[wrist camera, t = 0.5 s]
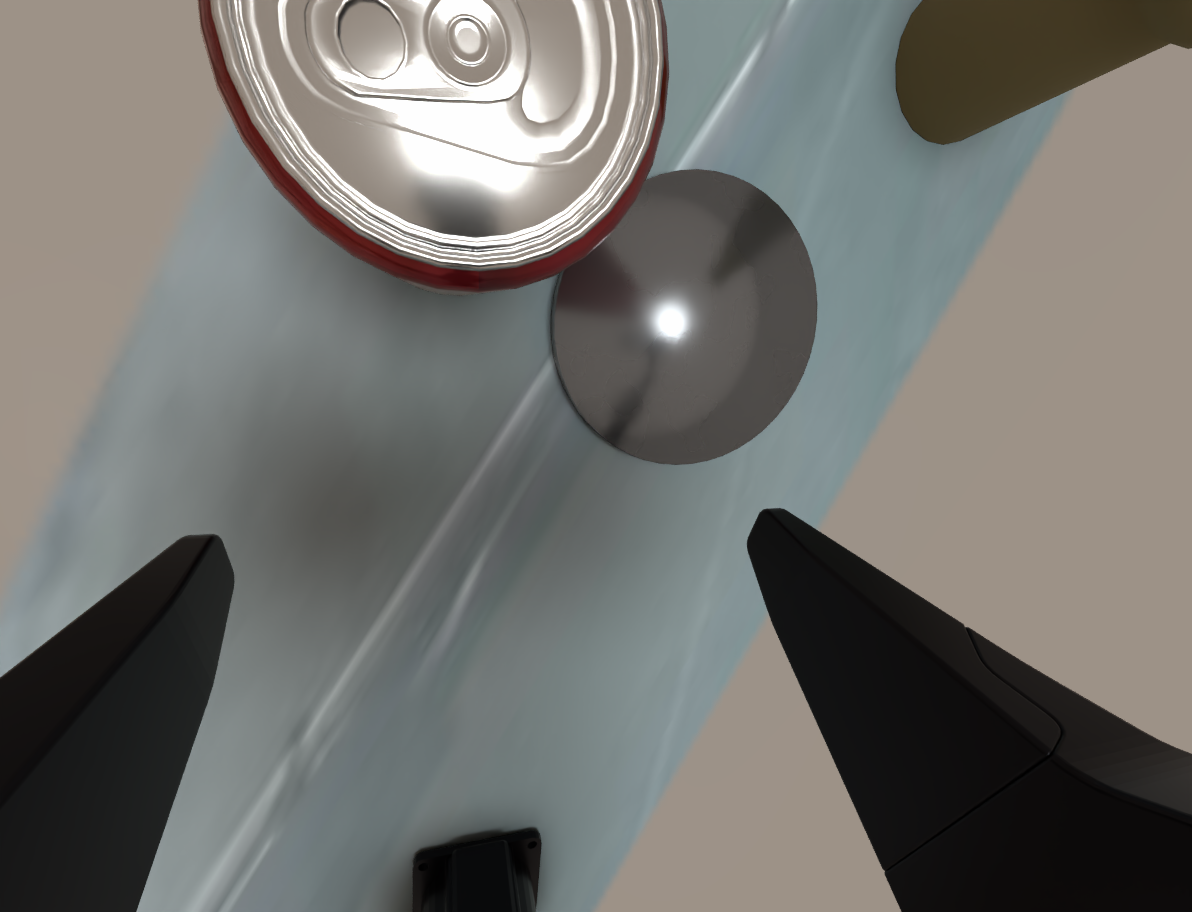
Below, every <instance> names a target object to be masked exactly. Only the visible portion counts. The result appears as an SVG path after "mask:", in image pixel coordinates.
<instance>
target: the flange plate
mask: <svg viewBox="0 0 1192 912" xmlns="http://www.w3.org/2000/svg"><path fill="white" fill-rule="evenodd" d="M816 323H817V293H816V283H815V278H814V273H813V268H812V265H811V261H810V258H809V255H808V252H807V249H806V247H805V245H804V243H803V241H802V239H801V236H800V234H799V233H798V231H797V229H796V228H795V226H794V225H793V223H792V222H791V220H790V218H789V217H788V216H787V215H786V214H785V213H784V211H783V210H782V209H781V208H780V207H779V205H778V204H776V203H775V202H774V201H773V200H772V199H771V198H770V197H769V196H767V195H766V194H765V193H764V192H762V191H761V190H759V189H758V188H756V187H755V186H753V185H752V184H750V183H748V182H746V181H743V180H741V179H739V178H737V177H735V176H731V175H728V174H724V173H720V172H717V171H708V170H699V169H696V170H679V171H674V172H670V173H665V174H660V175H658V176H655V177H653V178H650V179H647V180H645V182H644V184H643V186H642V188H641V190H640V192H639V195H638V197H637V199H636V201H635V202H634V204H633V205H632V206H631V208H630V209H629V210H628V212H627V213H626V215H625V216H624V217H623V219H622V220H621V221H620V223H619V224H618V226H617V227H616V228H615V230H614V231H613V232H612V233H611V234H610V235H609V236H608V237H607V238H606V239H605V240H604V241H602V242H601V243H600V244H599V245H598V246H597V247H596V248H595V249H594V250H593V251H591V252H590V253H589V254H588V255H587V256H586V257H585V258H583V259H582V260H580V261H578V262H576V263H575V264H573V265H571V266H570V267H568V268H566V269H565V270H563V271H561V272H560V274H559V277H558V281H557V284H556V288H555V292H554V297H553V305H552V313H551V338H552V346H553V355H554V358H555V362H556V366H557V370H558V374H559V376H560V379H561V381H562V384H563V386H564V389H565V391H566V393H567V395H568V396H569V398H570V400H571V402H572V403H573V405H574V407H575V408H576V409H577V411H578V412H579V413H580V415H581V416H582V417H583V419H584V420H585V421H586V422H587V423H588V424H589V425H590V426H591V427H592V428H593V429H594V430H595V431H596V432H597V433H598V434H600V435H601V436H602V437H603V438H605V439H606V440H607V441H609V442H610V443H611V444H613V445H614V446H615V447H617V448H619V449H621V450H623V451H624V452H626V453H628V454H630V455H633V456H635V457H638V458H641V459H643V460H647V461H652V462H656V463H661V464H674V465H679V464H693V463H698V462H703V461H708V460H711V459H714V458H717V457H720V456H723V455H725V454H727V453H729V452H731V451H734V450H736V449H738V448H739V447H741V446H742V445H744V444H746V443H747V442H749V441H750V440H752V439H753V438H754V437H755V436H757V435H758V434H759V433H760V432H762V431H763V430H764V429H765V428H766V427H767V426H768V425H769V424H770V423H771V422H772V421H773V420H774V419H775V418H776V417H777V416H778V414H779V413H780V412H781V411H782V409H783V408H784V407H785V405H786V404H787V403H788V401H789V399H790V398H791V396H792V395H793V393H794V392H795V390H796V388H797V386H798V384H799V382H800V380H801V378H802V376H803V374H804V371H805V369H806V366H807V363H808V360H809V358H810V354H811V350H812V346H813V342H814V337H815V330H816Z"/></svg>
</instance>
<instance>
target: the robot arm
mask: <svg viewBox="0 0 1192 912" xmlns="http://www.w3.org/2000/svg"><path fill="white" fill-rule="evenodd" d="M747 550H748V554H749V557H750V560H751V563H752V566H753V569H754V572H755V575H756V578H757V581H758V584H759V587H760V590H761V593H762V596H763V599H764V602H765V605H766V608H767V611H768V613H769V616H770V618H771V621H772V624H773V626H774V629H775V631H776V633H777V635H778V638H779V640H780V642H781V644H782V647H783V649H784V651H785V653H786V655H787V658H788V660H789V662H790V664H791V667H792V669H793V671H794V673H795V675H796V678H797V680H798V682H799V684H800V687H801V689H802V691H803V693H804V695H805V698H806V700H807V702H808V704H809V707H810V709H811V711H812V713H813V715H814V718H815V720H816V722H817V724H818V726H819V729H820V731H821V733H822V735H823V738H824V740H825V742H826V744H827V746H828V749H829V751H830V753H831V755H832V758H833V760H834V762H835V764H836V767H837V769H838V771H839V773H840V775H841V778H842V780H843V782H844V784H845V787H846V789H847V791H848V793H849V795H850V798H851V800H852V802H853V804H854V806H855V808H856V811H857V813H858V815H859V817H860V820H861V822H862V824H863V827H864V829H865V831H866V833H867V835H868V838H869V840H870V842H871V844H872V846H873V849H874V851H875V853H876V855H877V857H878V860H879V862H880V864H881V866H882V869H883V870H884V871H885V876H886V878H887V881H888V882H889V885H890V887H891V889H892V891H893V894H894V896H895V898H896V901H897V903H898V905H899V907H900V909H901V912H1192V754H1191V753H1188V752H1186V751H1183V750H1180V749H1178V748H1175V747H1173V746H1171V745H1169V744H1167V743H1164V742H1162V741H1160V740H1158V739H1156V738H1154V737H1153V736H1151V735H1149V734H1147V733H1145V732H1143V731H1141V730H1140V729H1138V728H1136V727H1135V726H1133V725H1131V724H1130V723H1128V722H1126V721H1124V720H1123V719H1121V718H1119V717H1117V716H1116V715H1114V714H1112V713H1110V712H1108V711H1107V710H1105V709H1103V708H1102V707H1100V706H1098V705H1096V704H1095V703H1093V702H1091V701H1090V700H1088V699H1086V698H1084V697H1083V696H1081V695H1079V694H1077V693H1076V692H1074V691H1072V690H1070V689H1069V688H1067V687H1065V686H1063V685H1062V684H1060V683H1058V682H1057V681H1055V680H1053V679H1051V678H1050V677H1048V676H1046V675H1045V674H1043V673H1041V672H1040V671H1038V670H1036V669H1034V668H1032V667H1031V666H1029V665H1028V664H1026V663H1024V662H1023V661H1020V660H1019V659H1018V658H1016V657H1015V656H1013V655H1011V654H1010V653H1008V652H1006V651H1005V650H1003V649H1002V648H1000V647H998V646H996V645H995V644H994V643H992V642H990V641H989V640H987V639H986V638H984V637H983V636H981V635H980V634H978V633H976V632H975V631H973V630H972V629H970V628H969V627H965V626H964V624H962V623H961V622H959V621H958V620H956V619H955V618H953V617H952V616H950V615H948V614H946V613H945V612H944V611H942V610H941V609H939V608H938V607H936V606H934V605H933V604H931V603H930V602H928V601H927V600H925V599H924V598H922V597H920V596H919V595H917V594H916V593H914V592H912V591H911V590H909V589H908V588H906V587H905V586H903V585H901V584H900V583H899V582H897V581H896V580H894V579H892V578H891V577H889V576H888V575H886V574H885V573H883V572H881V571H880V570H878V569H876V568H875V567H874V566H872V565H871V564H869V563H867V562H866V561H864V560H863V559H861V558H860V557H858V556H856V555H855V554H854V553H852V552H850V551H849V550H847V549H846V548H844V547H842V546H841V545H839V544H838V543H836V542H835V541H833V540H832V539H830V538H828V537H827V536H826V535H824V534H822V533H821V532H819V531H818V530H816V529H815V528H813V527H812V526H810V525H808V524H807V523H805V522H804V521H802V520H801V519H799V518H798V517H796V516H794V515H793V514H791V513H790V512H788V511H787V510H785V509H781V508H774V509H764V510H762V511H761V512H760V513H759V515H758V517H757V519H756V521H755V524H754V526H753V528H752V530H751V532H750V534H749V537H748V540H747ZM233 589H234V572H233V569H232V566H231V563H230V560H229V558H228V555H227V552H226V549H225V547H224V544H223V541H222V540H221V538H220V537H219V536H218V535H214V534H204V535H188V536H184V537H182V538H180V539H179V540H177V541H176V542H175V543H173V544H172V545H171V546H170V547H168V548H167V549H166V550H164V551H163V552H162V553H160V554H159V555H158V556H157V557H155V558H154V559H153V560H151V561H150V562H149V563H148V564H146V565H145V566H144V567H142V568H141V569H140V570H139V571H137V572H136V573H135V574H133V575H132V576H131V577H129V578H128V579H127V580H126V581H124V582H123V583H122V584H120V585H119V586H118V587H117V588H115V589H114V590H113V591H111V592H110V593H109V594H107V595H106V596H105V597H104V598H102V599H101V600H100V601H98V602H97V603H96V604H95V605H93V606H92V607H91V608H89V609H88V610H87V611H86V612H84V613H83V614H82V615H80V616H79V617H78V618H76V619H75V620H74V621H73V622H71V623H70V624H69V625H67V626H66V627H65V628H64V629H62V630H61V631H60V632H58V633H57V634H56V635H54V636H53V637H52V638H51V639H49V640H48V641H47V642H45V643H44V644H43V645H42V646H40V647H39V648H38V649H36V650H35V651H34V652H33V653H31V654H30V655H29V656H27V657H26V658H25V659H23V660H22V661H21V662H20V663H18V664H17V665H16V666H14V667H13V668H12V669H11V670H9V671H8V672H7V673H5V674H4V675H3V676H2V677H0V912H136V911H137V908H138V905H139V902H140V899H141V896H142V893H143V890H144V887H145V884H146V881H147V879H148V876H149V873H150V870H151V867H152V864H153V861H154V858H155V855H156V852H157V849H158V846H159V843H160V840H161V838H162V835H163V832H164V829H165V826H166V823H167V820H168V817H169V814H170V811H171V808H172V805H173V802H174V799H175V797H176V794H177V791H178V788H179V785H180V782H181V779H182V776H183V773H184V770H185V767H186V764H187V761H188V758H189V756H190V753H191V750H192V747H193V744H194V741H195V738H196V735H197V732H198V729H199V726H200V723H201V720H202V717H203V715H204V712H205V709H206V706H207V703H208V700H209V696H210V693H211V690H212V687H213V683H214V679H215V675H216V670H217V666H218V661H219V656H220V651H221V646H222V642H223V637H224V632H225V627H226V622H227V618H228V613H229V608H230V603H231V598H232V594H233ZM540 855H541V838H540V833H539V832H538V831H527V832H522V833H517V834H512V835H507V836H502V837H496V838H491V839H486V840H481V841H476V842H471V843H466V844H460V845H455V846H450V847H445V848H440V849H435V850H429V851H424V852H421V853H419V854H417V855H416V856H415V858H414V860H413V912H536V904H537V892H538V879H539V867H540Z"/></svg>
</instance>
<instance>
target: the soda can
mask: <svg viewBox="0 0 1192 912" xmlns="http://www.w3.org/2000/svg"><path fill="white" fill-rule="evenodd" d="M198 9H199V19H200V29H201V34H202V37H203V41H204V44H205V48H206V51H207V55H208V58H209V61H210V65H211V69H212V72H213V75H214V79H215V82H216V86H217V89H218V91H219V93H220V95H221V98H222V100H223V102H224V104H225V106H226V108H227V110H228V112H229V114H230V116H231V118H232V120H233V122H234V125H235V127H236V129H237V131H238V133H239V135H240V137H241V139H242V141H243V143H244V144H245V146H246V147H247V148H248V150H249V151H250V153H251V154H252V156H253V157H254V158H255V160H256V161H257V163H258V164H259V166H260V167H261V168H262V170H263V171H264V173H265V174H266V176H267V177H268V178H269V180H270V181H271V183H272V184H273V186H274V187H275V188H276V189H277V190H278V191H279V192H280V193H281V194H282V195H283V197H284V198H285V199H286V200H287V201H288V202H289V203H290V204H291V205H292V206H293V207H294V208H295V209H296V210H297V211H298V212H299V213H300V214H301V215H302V216H303V217H304V218H305V219H306V220H307V221H308V222H309V223H310V224H311V225H312V226H313V227H314V228H316V229H317V230H318V231H320V232H321V233H322V234H324V235H325V236H326V237H328V238H329V239H331V240H332V241H333V242H335V243H336V244H337V245H339V246H340V247H341V248H343V249H344V250H346V251H347V252H348V253H350V254H351V255H352V256H354V257H356V258H358V259H360V260H362V261H364V262H366V263H368V264H370V265H372V266H374V267H376V268H378V269H380V270H382V271H384V272H386V273H388V274H390V275H392V276H394V277H396V278H398V279H400V280H402V281H404V282H407V283H409V284H411V285H413V286H415V287H417V288H419V289H422V290H426V291H429V292H433V293H436V294H441V295H453V296H464V295H473V294H481V293H488V292H495V291H502V290H509V289H516V288H520V287H523V286H526V285H529V284H532V283H535V282H538V281H541V280H544V279H547V278H550V277H553V276H554V275H556V274H558V273H560V272H561V271H563V270H565V269H566V268H568V267H570V266H571V265H573V264H575V263H576V262H578V261H580V260H582V259H583V258H585V257H586V256H587V255H588V254H589V253H590V252H591V251H593V250H594V249H595V248H596V247H597V246H598V245H599V244H600V243H601V242H602V241H604V240H605V239H606V238H607V237H608V236H609V235H610V234H611V233H612V232H613V231H614V230H615V228H616V227H617V226H618V224H619V223H620V221H621V220H622V219H623V217H624V216H625V215H626V213H627V212H628V210H629V209H630V208H631V206H632V205H633V204H634V202H635V201H636V199H637V197H638V195H639V192H640V190H641V188H642V186H643V184H644V182H645V180H646V178H647V176H648V173H649V171H650V169H651V167H652V165H653V162H654V158H655V155H656V151H657V147H658V144H659V140H660V136H661V133H662V129H663V125H664V119H665V110H666V100H667V90H668V80H669V61H668V43H667V26H666V21H665V16H664V11H663V6H662V2H661V0H198Z"/></svg>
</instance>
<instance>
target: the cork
mask: <svg viewBox="0 0 1192 912" xmlns="http://www.w3.org/2000/svg"><path fill="white" fill-rule="evenodd" d="M1170 43H1171V44H1175V45H1178V46H1181V47H1184V48H1187V49H1189V48H1192V0H923V1H922V2H921V3H920V4H919V6H918V7H917V8H916V9H915V11H914V12H913V13H912V15H911V17H910V19H909V21H908V24H907V26H906V28H905V30H904V32H903V35H902V37H901V41H900V46H899V51H898V56H897V60H896V90H897V94H898V98H899V102H900V105H901V109H902V113H903V114H904V116H905V118H906V119H907V121H908V122H909V124H910V126H911V127H912V129H913V130H914V131H915V132H916V133H918V134H919V135H920V136H921V137H923V138H924V139H925V140H927V141H930V142H934V143H938V144H943V145H944V144H949V143H953V142H958V141H961V140H963V139H966V138H968V137H970V136H972V135H974V134H976V133H978V132H981V131H983V130H985V129H987V128H989V127H991V126H994V125H996V124H998V123H1000V122H1002V121H1004V120H1006V119H1009V118H1011V117H1013V116H1015V115H1017V114H1019V113H1022V112H1024V111H1026V110H1028V109H1030V108H1032V107H1035V106H1037V105H1039V104H1041V103H1043V102H1045V101H1047V100H1050V99H1052V98H1054V97H1056V96H1058V95H1060V94H1063V93H1065V92H1067V91H1069V90H1071V89H1073V88H1075V87H1078V86H1080V85H1082V84H1084V83H1086V82H1088V81H1091V80H1093V79H1095V78H1097V77H1099V76H1101V75H1103V74H1106V73H1108V72H1110V71H1112V70H1114V69H1116V68H1119V67H1121V66H1123V65H1125V64H1127V63H1129V62H1132V61H1134V60H1136V59H1138V58H1140V57H1142V56H1144V55H1146V54H1149V53H1151V52H1153V51H1155V50H1157V49H1160V48H1162V47H1164V46H1166V45H1168V44H1170Z"/></svg>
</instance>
